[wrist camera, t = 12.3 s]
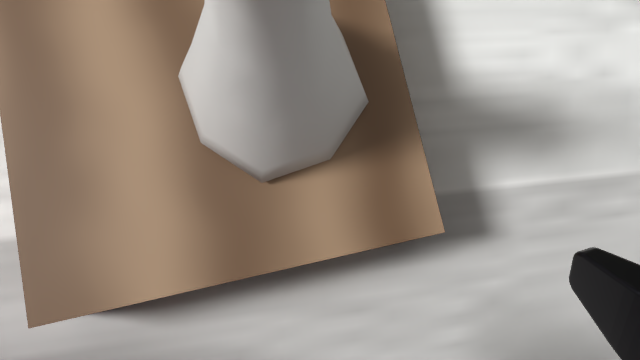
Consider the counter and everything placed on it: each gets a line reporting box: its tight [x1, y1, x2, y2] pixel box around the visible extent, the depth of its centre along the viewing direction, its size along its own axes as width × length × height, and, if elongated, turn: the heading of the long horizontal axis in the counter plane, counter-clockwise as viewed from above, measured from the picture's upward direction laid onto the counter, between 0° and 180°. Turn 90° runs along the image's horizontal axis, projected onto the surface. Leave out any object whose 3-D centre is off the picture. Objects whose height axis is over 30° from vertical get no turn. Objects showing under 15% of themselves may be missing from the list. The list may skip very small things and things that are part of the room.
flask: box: [178, 0, 369, 183], centre depth 13 cm, size 7×7×10 cm
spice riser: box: [0, 0, 445, 328], centre depth 19 cm, size 16×14×4 cm
